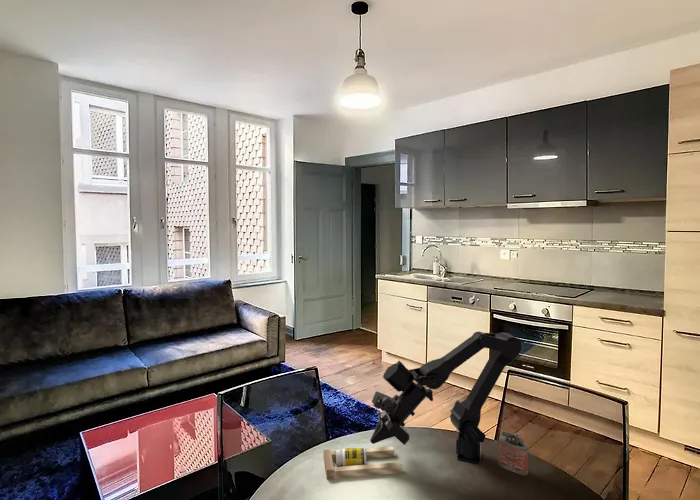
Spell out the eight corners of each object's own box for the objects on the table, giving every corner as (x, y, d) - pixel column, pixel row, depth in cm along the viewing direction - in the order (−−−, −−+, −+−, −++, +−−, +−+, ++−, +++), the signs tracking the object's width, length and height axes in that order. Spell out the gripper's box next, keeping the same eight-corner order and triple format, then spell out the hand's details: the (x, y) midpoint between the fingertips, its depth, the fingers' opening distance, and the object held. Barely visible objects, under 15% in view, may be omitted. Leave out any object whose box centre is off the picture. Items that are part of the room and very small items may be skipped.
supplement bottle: (366, 457, 115) (336, 458, 114) (366, 470, 117) (336, 471, 116) (365, 443, 119) (336, 444, 119) (364, 456, 121) (335, 457, 121)
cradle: (392, 452, 125) (392, 444, 125) (402, 472, 114) (402, 463, 114) (323, 458, 122) (323, 449, 122) (326, 479, 111) (326, 470, 111)
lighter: (529, 471, 115) (530, 436, 115) (525, 476, 112) (525, 440, 112) (501, 460, 120) (501, 427, 120) (496, 465, 118) (496, 431, 118)
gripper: (381, 372, 128) (346, 410, 126) (397, 395, 109) (356, 440, 108) (406, 395, 129) (372, 433, 128) (426, 422, 110) (386, 467, 109)
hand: (371, 442), depth 118 cm, fingers closed
